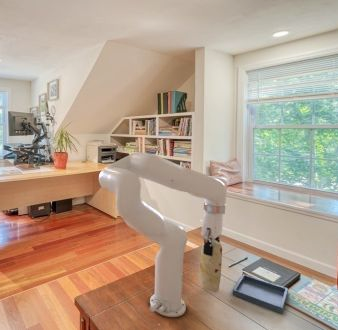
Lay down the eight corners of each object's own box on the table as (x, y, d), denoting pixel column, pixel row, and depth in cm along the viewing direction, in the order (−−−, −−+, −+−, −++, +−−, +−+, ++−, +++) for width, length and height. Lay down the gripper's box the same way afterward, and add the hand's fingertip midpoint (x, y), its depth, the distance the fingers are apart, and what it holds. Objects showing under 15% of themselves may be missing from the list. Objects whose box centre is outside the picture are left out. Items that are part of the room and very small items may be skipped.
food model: (224, 293, 99) (228, 244, 96) (209, 295, 97) (212, 245, 95) (208, 279, 108) (211, 234, 106) (194, 281, 107) (196, 235, 104)
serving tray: (282, 314, 89) (282, 308, 89) (232, 294, 99) (232, 289, 99) (287, 293, 100) (288, 288, 100) (242, 278, 111) (243, 273, 110)
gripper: (211, 202, 108) (209, 242, 110) (195, 210, 95) (193, 255, 97) (231, 205, 103) (228, 247, 105) (217, 215, 90) (213, 262, 92)
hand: (211, 251), depth 101 cm, fingers closed on food model, 7 cm apart
